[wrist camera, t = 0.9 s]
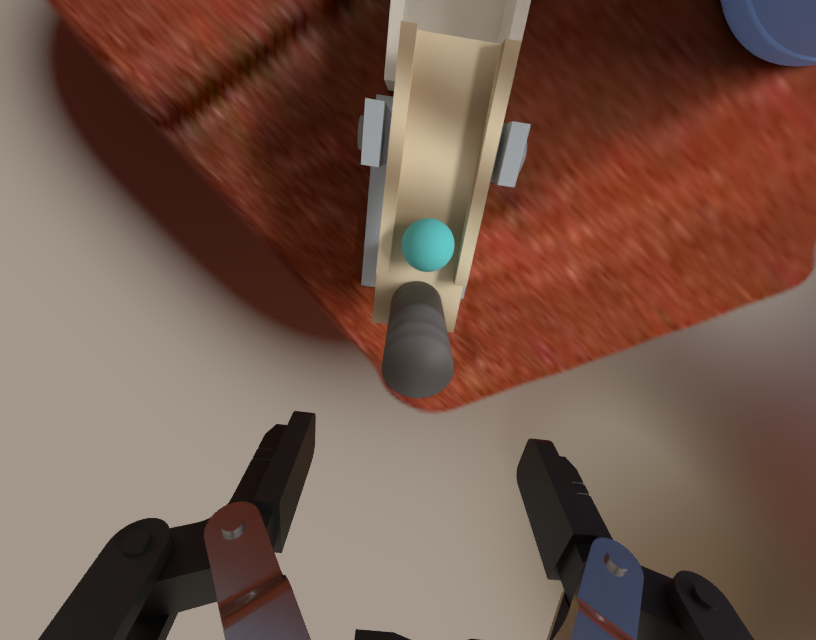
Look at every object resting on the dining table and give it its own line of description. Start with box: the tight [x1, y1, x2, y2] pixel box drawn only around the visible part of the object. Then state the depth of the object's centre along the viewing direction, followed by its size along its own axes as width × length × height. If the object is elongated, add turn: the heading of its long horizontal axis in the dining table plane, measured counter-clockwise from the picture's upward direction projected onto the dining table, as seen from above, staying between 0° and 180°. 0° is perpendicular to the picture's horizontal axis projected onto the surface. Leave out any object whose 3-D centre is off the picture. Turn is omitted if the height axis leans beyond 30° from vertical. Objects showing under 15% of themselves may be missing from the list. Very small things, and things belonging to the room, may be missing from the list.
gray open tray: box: [384, 0, 531, 92], centre depth 22 cm, size 10×8×4 cm
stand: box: [357, 94, 531, 299], centre depth 25 cm, size 15×10×9 cm, turn 172°
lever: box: [372, 21, 522, 398], centre depth 18 cm, size 17×6×9 cm, turn 172°
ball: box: [402, 218, 454, 272], centre depth 21 cm, size 3×3×3 cm
